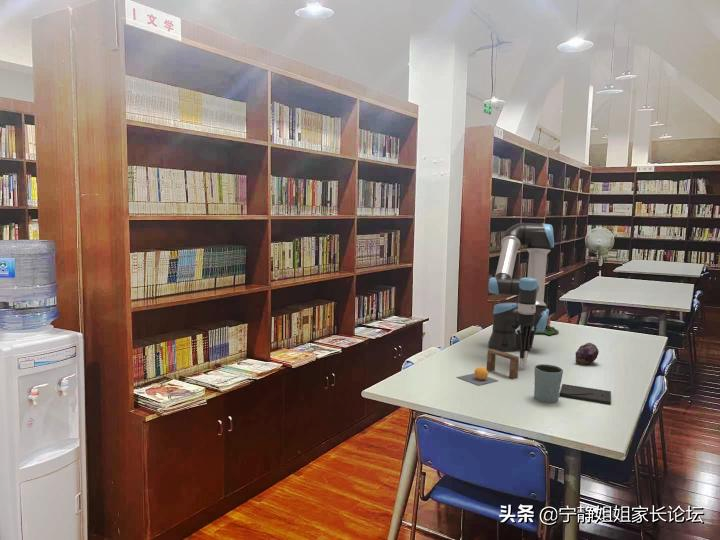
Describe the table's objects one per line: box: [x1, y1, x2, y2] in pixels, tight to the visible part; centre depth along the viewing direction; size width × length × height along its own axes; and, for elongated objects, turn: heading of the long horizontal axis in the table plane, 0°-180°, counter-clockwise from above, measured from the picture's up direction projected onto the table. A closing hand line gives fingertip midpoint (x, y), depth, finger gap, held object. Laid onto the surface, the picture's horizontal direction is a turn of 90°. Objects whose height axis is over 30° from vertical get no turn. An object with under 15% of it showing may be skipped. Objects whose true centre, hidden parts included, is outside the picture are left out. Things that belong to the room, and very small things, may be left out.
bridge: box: [486, 348, 520, 380], centre depth 230 cm, size 3×14×9 cm, turn 35°
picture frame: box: [559, 383, 612, 406], centre depth 206 cm, size 13×2×18 cm
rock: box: [575, 342, 600, 366], centre depth 251 cm, size 12×9×10 cm
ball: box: [473, 366, 489, 380], centre depth 221 cm, size 6×6×6 cm
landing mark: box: [456, 373, 499, 387], centre depth 222 cm, size 12×12×1 cm
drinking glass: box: [533, 363, 564, 404], centre depth 200 cm, size 10×10×12 cm
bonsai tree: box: [535, 290, 559, 336], centre depth 311 cm, size 35×24×32 cm
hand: (523, 364), depth 238 cm, fingers closed
